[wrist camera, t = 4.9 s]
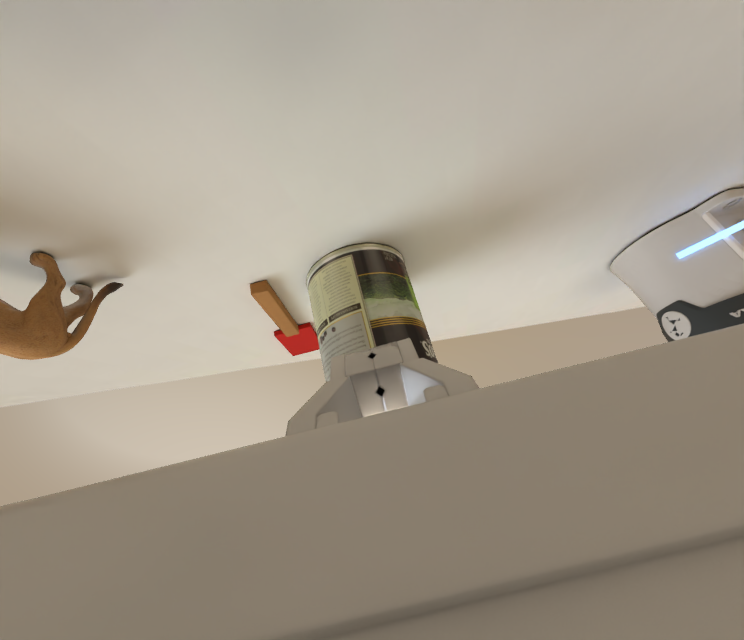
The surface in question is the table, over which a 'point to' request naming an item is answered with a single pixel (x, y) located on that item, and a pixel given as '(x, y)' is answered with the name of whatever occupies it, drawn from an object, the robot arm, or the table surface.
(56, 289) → the lion figurine
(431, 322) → the table surface
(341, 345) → the coffee can
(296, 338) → the spatula
